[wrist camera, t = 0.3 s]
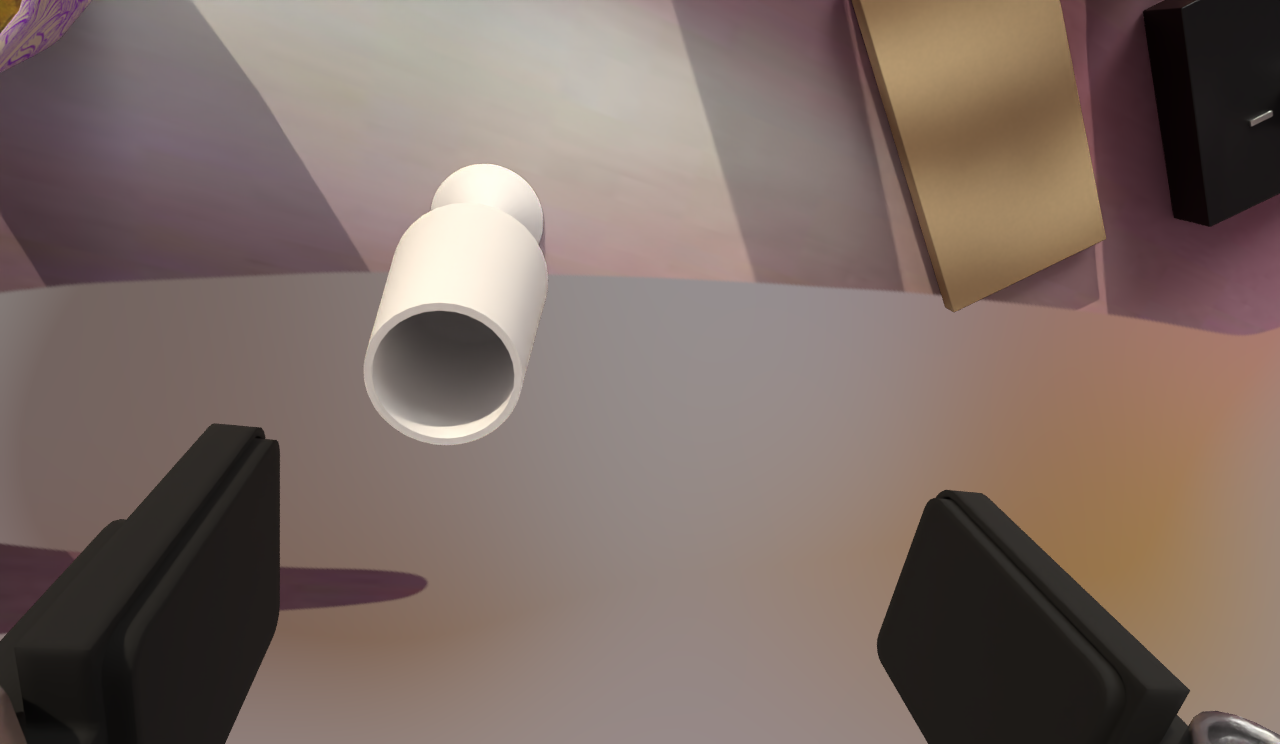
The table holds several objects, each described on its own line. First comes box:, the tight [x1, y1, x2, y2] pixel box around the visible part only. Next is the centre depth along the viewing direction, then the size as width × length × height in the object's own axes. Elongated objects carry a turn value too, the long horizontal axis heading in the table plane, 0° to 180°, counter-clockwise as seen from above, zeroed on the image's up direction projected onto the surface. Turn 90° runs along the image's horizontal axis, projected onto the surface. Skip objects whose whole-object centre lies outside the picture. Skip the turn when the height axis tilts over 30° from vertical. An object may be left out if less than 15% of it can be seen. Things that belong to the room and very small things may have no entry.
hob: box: [1143, 0, 1280, 227], centre depth 46 cm, size 14×12×3 cm
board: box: [852, 0, 1106, 312], centre depth 46 cm, size 22×11×1 cm, turn 25°
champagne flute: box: [364, 164, 548, 445], centre depth 34 cm, size 7×7×24 cm
